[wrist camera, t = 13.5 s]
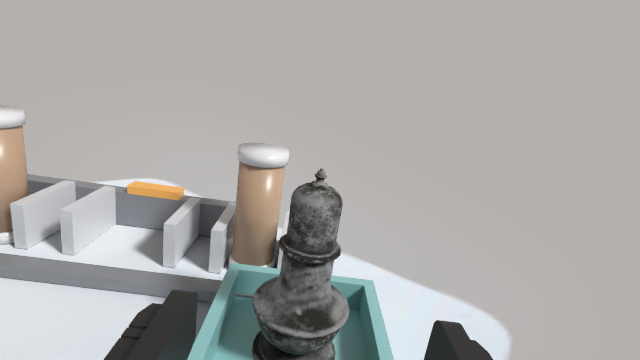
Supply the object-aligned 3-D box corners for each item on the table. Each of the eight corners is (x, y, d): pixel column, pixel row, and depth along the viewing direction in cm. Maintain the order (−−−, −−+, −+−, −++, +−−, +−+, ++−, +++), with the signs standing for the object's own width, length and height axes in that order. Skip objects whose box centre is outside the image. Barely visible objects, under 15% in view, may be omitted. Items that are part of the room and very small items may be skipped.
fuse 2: (223, 274, 31) (233, 150, 28) (234, 251, 35) (243, 140, 32) (271, 280, 31) (287, 158, 28) (277, 256, 35) (291, 147, 32)
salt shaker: (285, 307, 27) (307, 150, 23) (355, 346, 24) (392, 174, 20) (226, 352, 22) (243, 161, 18) (305, 408, 19) (343, 195, 15)
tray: (173, 431, 18) (175, 383, 17) (228, 296, 28) (230, 262, 27) (393, 454, 18) (406, 408, 17) (365, 313, 29) (372, 280, 28)
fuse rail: (-113, 263, 26) (-125, 208, 25) (20, 204, 38) (16, 165, 36) (282, 311, 27) (289, 261, 26) (293, 240, 39) (298, 203, 38)
